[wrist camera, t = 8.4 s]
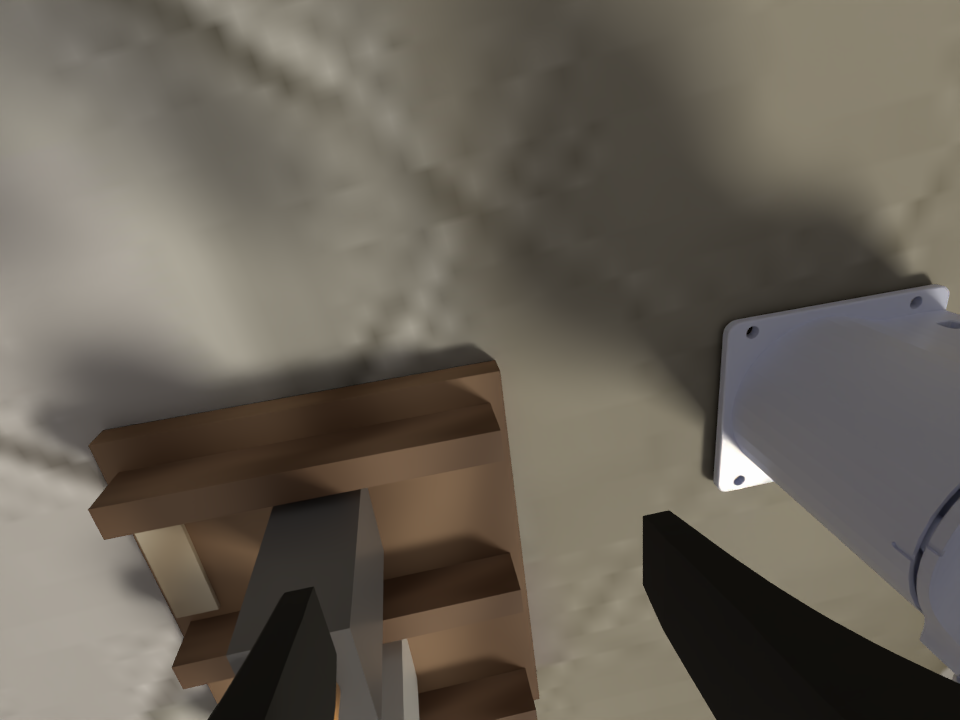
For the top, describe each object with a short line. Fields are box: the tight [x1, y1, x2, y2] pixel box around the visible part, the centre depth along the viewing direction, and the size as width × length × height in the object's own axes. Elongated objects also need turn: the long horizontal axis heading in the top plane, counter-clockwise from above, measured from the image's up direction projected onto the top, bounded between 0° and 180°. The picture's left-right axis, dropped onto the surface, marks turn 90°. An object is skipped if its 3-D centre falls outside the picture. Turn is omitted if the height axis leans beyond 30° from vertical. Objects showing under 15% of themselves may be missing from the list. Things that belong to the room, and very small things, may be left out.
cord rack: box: [88, 360, 539, 720], centre depth 21 cm, size 14×18×3 cm
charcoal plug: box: [226, 488, 384, 720], centre depth 16 cm, size 3×4×8 cm
